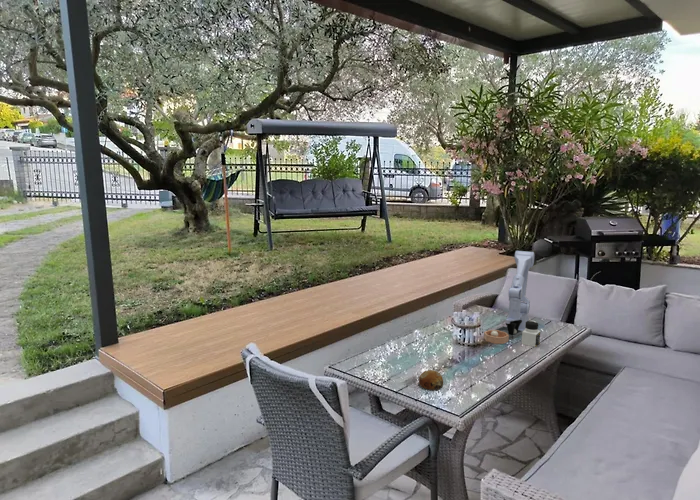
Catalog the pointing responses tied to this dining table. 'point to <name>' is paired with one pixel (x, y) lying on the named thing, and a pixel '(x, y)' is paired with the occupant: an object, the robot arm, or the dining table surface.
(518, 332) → the parts tray
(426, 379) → the bread roll
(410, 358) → the dining table surface
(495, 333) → the cream pebble
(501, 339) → the bowl
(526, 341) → the medicine bottle
